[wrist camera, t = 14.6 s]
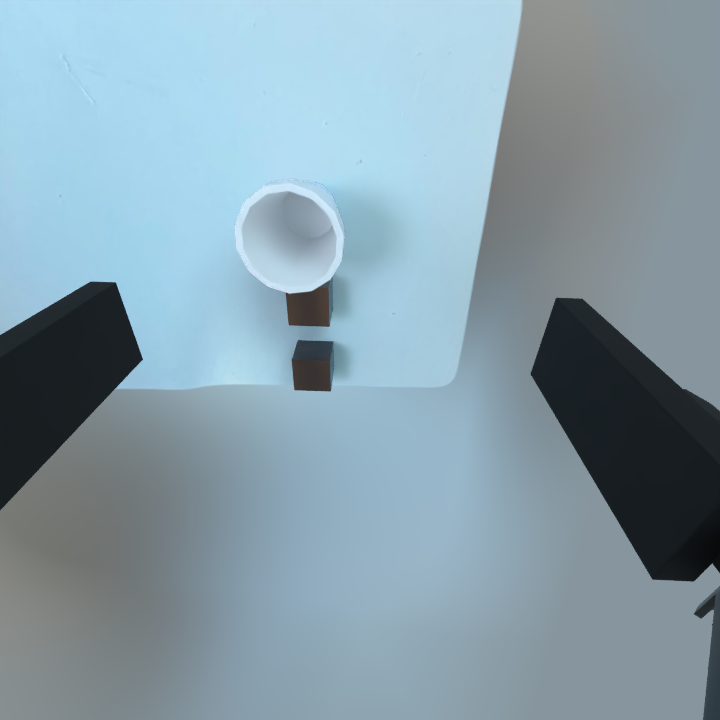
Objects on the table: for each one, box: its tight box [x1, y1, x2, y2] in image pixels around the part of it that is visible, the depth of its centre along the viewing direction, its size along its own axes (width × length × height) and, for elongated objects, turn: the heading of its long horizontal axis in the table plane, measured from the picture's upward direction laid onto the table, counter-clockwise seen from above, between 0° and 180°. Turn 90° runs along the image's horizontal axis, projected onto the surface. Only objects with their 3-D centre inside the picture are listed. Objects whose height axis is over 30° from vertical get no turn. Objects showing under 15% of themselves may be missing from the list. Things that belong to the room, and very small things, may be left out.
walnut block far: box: [292, 341, 334, 391], centre depth 52 cm, size 5×5×5 cm
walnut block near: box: [286, 278, 333, 327], centre depth 47 cm, size 5×5×5 cm
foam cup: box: [235, 179, 345, 294], centre depth 38 cm, size 10×9×13 cm
